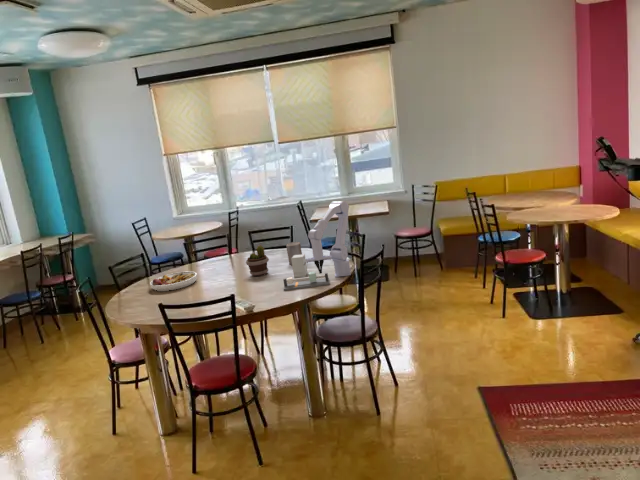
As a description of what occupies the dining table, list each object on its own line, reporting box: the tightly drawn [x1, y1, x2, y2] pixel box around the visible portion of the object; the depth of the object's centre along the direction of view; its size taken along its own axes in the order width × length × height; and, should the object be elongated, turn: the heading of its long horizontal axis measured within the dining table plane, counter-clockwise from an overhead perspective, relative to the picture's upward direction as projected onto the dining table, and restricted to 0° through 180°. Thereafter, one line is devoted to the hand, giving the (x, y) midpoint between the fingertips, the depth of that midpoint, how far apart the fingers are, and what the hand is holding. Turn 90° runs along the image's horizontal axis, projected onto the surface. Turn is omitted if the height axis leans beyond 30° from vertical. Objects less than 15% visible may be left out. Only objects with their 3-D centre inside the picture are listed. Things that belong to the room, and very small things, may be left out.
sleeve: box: [307, 271, 318, 282], centre depth 295 cm, size 4×4×5 cm
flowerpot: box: [245, 243, 270, 277], centre depth 333 cm, size 14×15×20 cm
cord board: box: [283, 272, 330, 292], centre depth 296 cm, size 26×10×6 cm, turn 89°
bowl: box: [149, 270, 198, 292], centre depth 338 cm, size 30×30×8 cm
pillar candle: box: [285, 241, 303, 266], centre depth 349 cm, size 10×10×15 cm
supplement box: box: [291, 253, 309, 279], centre depth 317 cm, size 7×7×13 cm
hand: (320, 273), depth 295 cm, fingers closed
